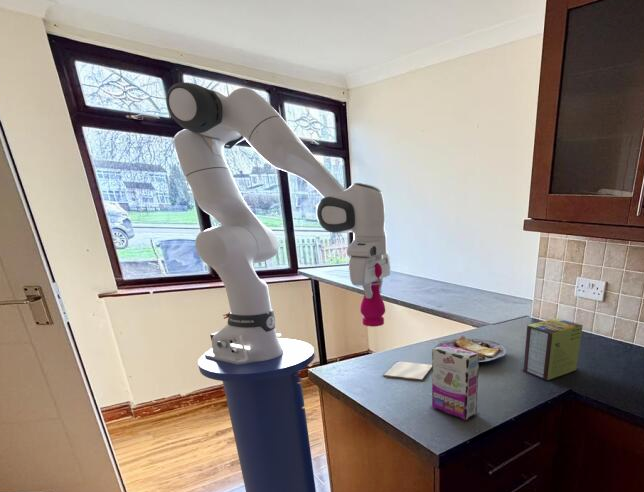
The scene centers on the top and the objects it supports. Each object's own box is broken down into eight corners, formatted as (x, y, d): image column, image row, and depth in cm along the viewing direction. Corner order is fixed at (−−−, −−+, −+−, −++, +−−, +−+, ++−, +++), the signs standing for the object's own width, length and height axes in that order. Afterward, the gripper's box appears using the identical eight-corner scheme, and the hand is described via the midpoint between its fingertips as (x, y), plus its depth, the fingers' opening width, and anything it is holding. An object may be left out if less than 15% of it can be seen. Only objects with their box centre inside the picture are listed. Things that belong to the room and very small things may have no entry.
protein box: (577, 370, 134) (583, 324, 128) (547, 381, 124) (552, 332, 118) (552, 360, 141) (557, 317, 135) (522, 370, 131) (526, 324, 125)
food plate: (421, 353, 142) (421, 343, 141) (467, 339, 159) (467, 331, 157) (473, 373, 127) (473, 363, 126) (518, 356, 143) (519, 347, 142)
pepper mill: (373, 318, 127) (370, 253, 119) (390, 323, 123) (389, 256, 116) (355, 323, 121) (351, 255, 113) (373, 328, 118) (370, 258, 110)
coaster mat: (383, 376, 122) (383, 374, 122) (397, 362, 133) (397, 361, 133) (422, 380, 120) (422, 379, 120) (433, 366, 131) (433, 364, 131)
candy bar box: (477, 413, 103) (480, 353, 97) (465, 421, 99) (468, 358, 93) (443, 401, 109) (444, 343, 102) (431, 407, 105) (431, 347, 99)
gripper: (375, 243, 123) (377, 288, 129) (343, 249, 105) (347, 302, 110) (394, 244, 123) (396, 290, 128) (366, 251, 104) (369, 304, 109)
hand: (373, 295), depth 119 cm, fingers closed on pepper mill, 4 cm apart
